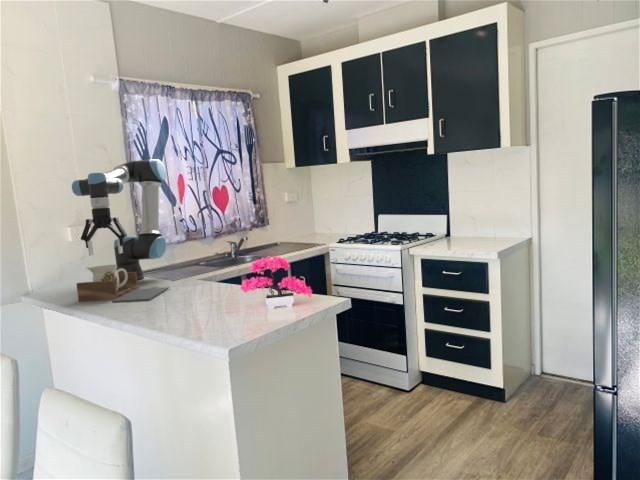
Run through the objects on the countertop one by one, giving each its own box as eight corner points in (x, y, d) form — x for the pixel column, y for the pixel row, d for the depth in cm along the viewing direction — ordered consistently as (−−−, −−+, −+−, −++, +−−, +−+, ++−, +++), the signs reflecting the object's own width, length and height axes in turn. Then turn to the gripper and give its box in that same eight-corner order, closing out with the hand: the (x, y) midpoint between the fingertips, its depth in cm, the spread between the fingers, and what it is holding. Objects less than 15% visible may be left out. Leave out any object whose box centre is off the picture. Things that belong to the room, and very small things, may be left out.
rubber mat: (135, 290, 227) (135, 289, 227) (169, 288, 226) (169, 287, 226) (112, 302, 203) (112, 300, 203) (149, 300, 202) (149, 298, 202)
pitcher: (134, 291, 225) (131, 262, 223) (94, 299, 212) (90, 268, 211) (124, 289, 232) (120, 261, 231) (85, 297, 220) (81, 267, 218)
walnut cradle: (104, 290, 235) (103, 273, 234) (138, 288, 234) (136, 271, 233) (78, 301, 211) (76, 283, 210) (115, 299, 210) (113, 281, 209)
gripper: (68, 209, 214) (74, 257, 217) (124, 205, 214) (129, 253, 216) (77, 209, 222) (83, 254, 224) (131, 205, 221) (136, 251, 223)
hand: (106, 254), depth 220 cm, fingers open, 13 cm apart
